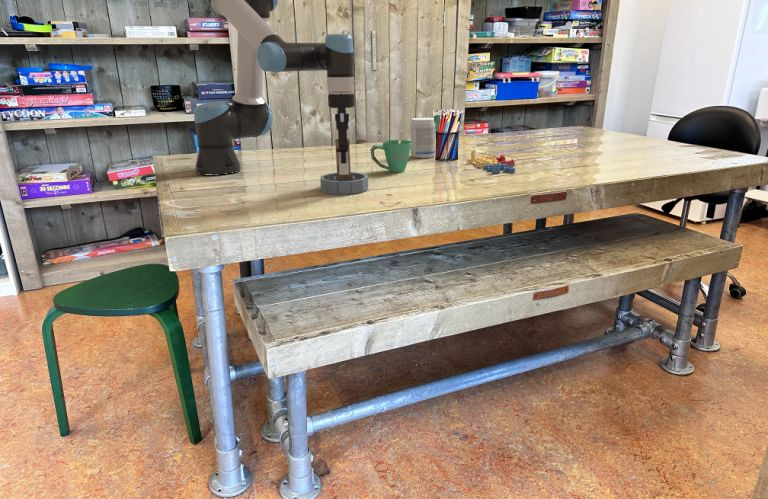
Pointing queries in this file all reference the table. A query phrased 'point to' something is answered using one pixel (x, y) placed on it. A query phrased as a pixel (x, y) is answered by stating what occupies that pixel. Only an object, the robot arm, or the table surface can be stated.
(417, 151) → the supplement tub
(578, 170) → the table surface
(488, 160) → the toy parts cluster
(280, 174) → the table surface
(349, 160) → the brown wooden block
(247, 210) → the table surface
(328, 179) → the grey ridged lid
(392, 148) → the mug
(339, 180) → the clip
